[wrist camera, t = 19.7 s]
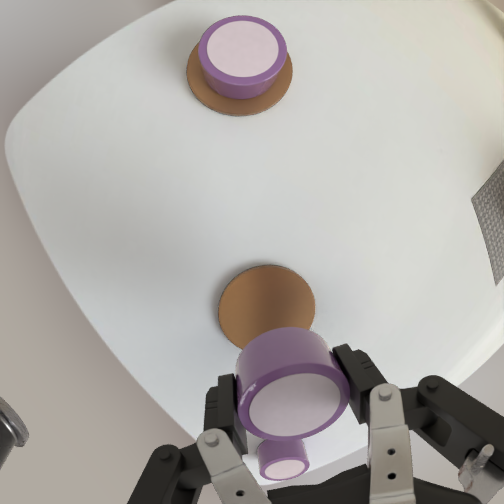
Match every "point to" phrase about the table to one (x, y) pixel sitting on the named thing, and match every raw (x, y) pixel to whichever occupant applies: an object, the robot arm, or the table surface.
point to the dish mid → (289, 385)
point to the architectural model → (493, 219)
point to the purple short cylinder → (241, 56)
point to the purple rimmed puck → (282, 459)
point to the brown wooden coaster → (264, 303)
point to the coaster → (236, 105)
